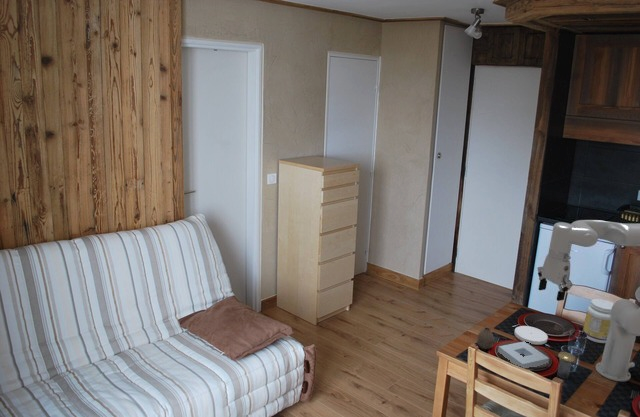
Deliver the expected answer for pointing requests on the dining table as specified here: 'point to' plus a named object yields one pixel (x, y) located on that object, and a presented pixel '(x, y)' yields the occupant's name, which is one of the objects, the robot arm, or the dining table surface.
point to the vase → (485, 338)
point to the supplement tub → (598, 320)
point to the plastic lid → (531, 335)
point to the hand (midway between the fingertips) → (550, 294)
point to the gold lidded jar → (565, 364)
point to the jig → (531, 354)
